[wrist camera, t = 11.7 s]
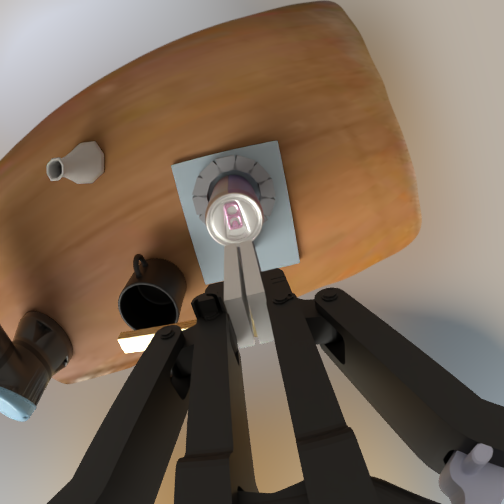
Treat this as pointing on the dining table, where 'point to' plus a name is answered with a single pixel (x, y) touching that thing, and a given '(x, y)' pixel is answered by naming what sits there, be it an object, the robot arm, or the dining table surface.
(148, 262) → the mug
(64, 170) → the flask
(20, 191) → the dining table surface
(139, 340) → the lever
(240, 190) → the beverage can
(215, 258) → the seat board
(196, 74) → the dining table surface
